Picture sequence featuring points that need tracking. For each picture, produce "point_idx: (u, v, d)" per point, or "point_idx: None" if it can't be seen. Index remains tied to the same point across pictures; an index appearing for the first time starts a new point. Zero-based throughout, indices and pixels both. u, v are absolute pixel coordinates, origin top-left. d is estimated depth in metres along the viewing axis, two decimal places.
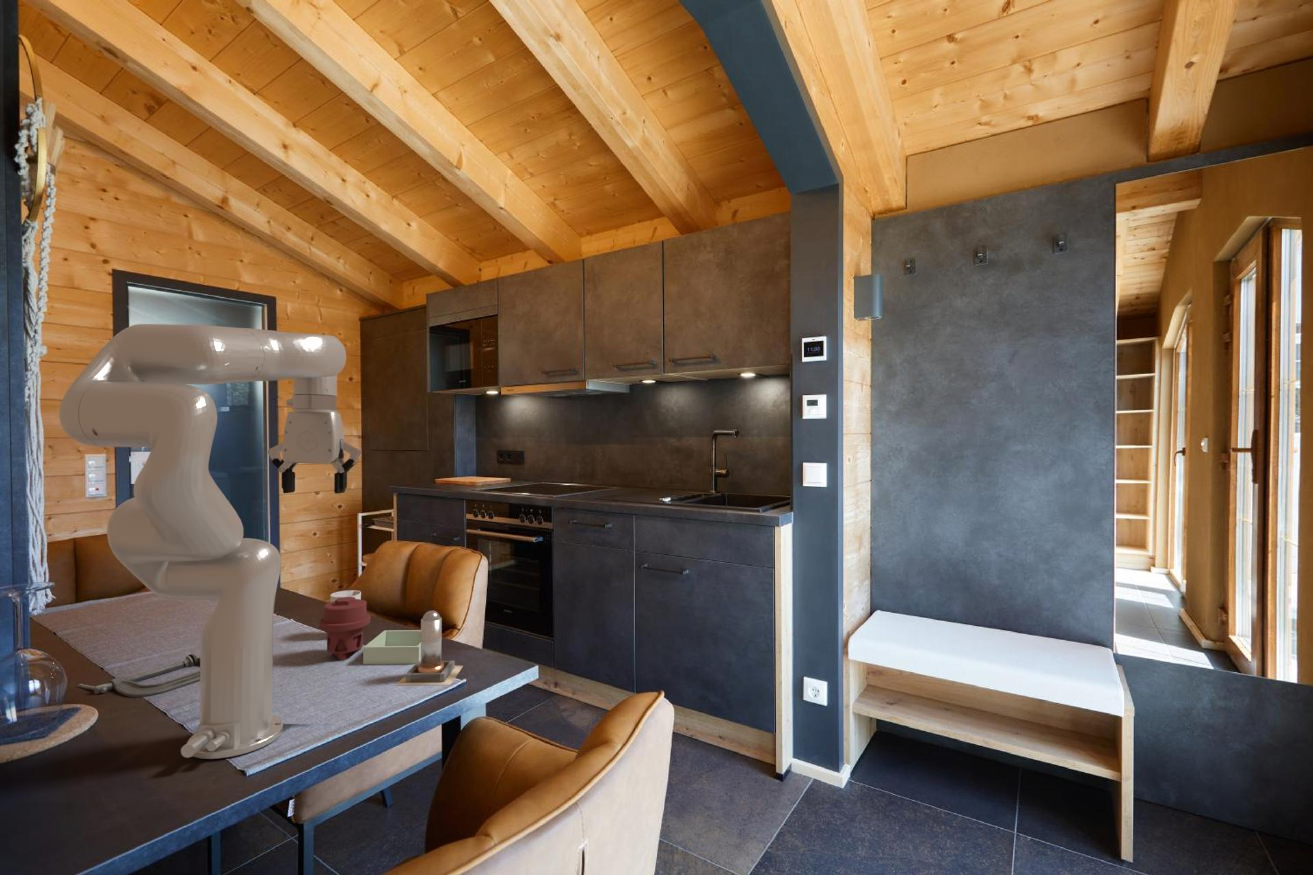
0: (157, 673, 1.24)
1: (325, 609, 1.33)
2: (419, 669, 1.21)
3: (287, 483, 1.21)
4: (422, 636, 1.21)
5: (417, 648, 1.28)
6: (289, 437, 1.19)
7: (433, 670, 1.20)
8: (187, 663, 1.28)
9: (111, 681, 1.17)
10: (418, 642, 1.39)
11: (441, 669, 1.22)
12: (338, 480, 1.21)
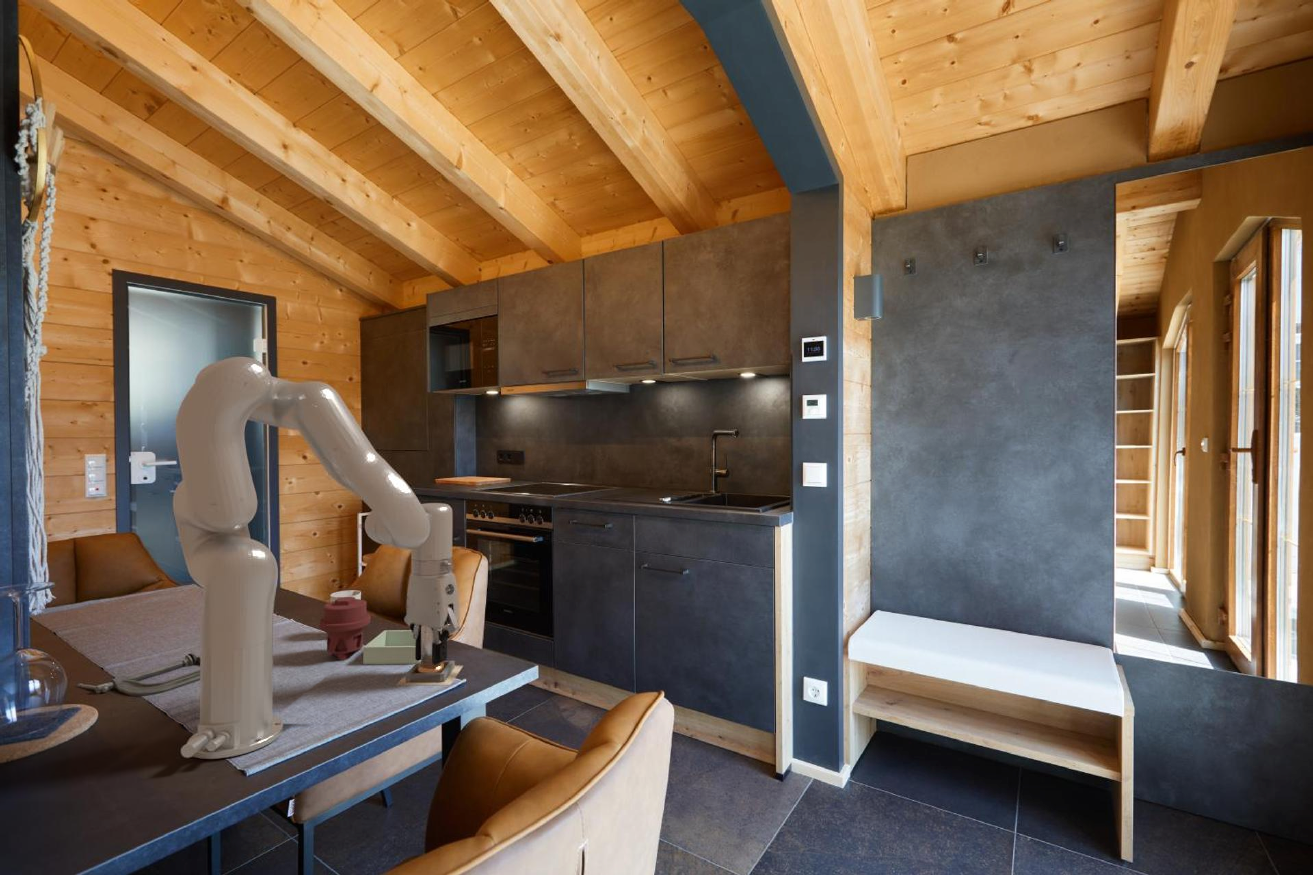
0: (157, 672, 1.24)
1: (325, 609, 1.33)
2: (419, 669, 1.21)
3: None
4: (422, 636, 1.21)
5: None
6: None
7: (433, 670, 1.20)
8: (187, 662, 1.29)
9: (112, 680, 1.17)
10: None
11: (441, 669, 1.22)
12: None
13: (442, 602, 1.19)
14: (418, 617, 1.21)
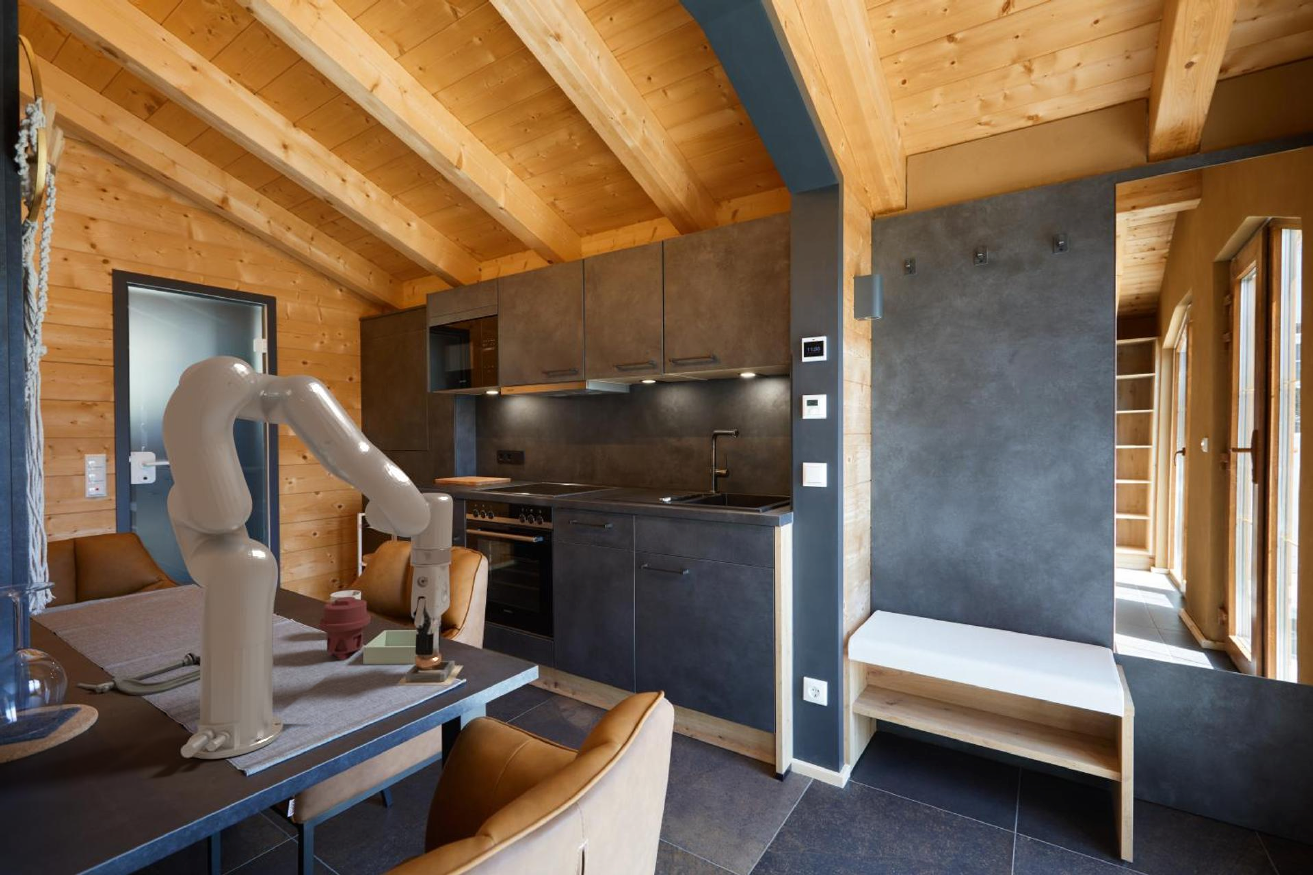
0: (157, 672, 1.24)
1: (325, 609, 1.33)
2: None
3: None
4: None
5: None
6: (438, 593, 1.19)
7: (418, 661, 1.20)
8: (186, 662, 1.29)
9: (112, 680, 1.18)
10: None
11: (427, 663, 1.20)
12: None
13: (412, 592, 1.17)
14: None
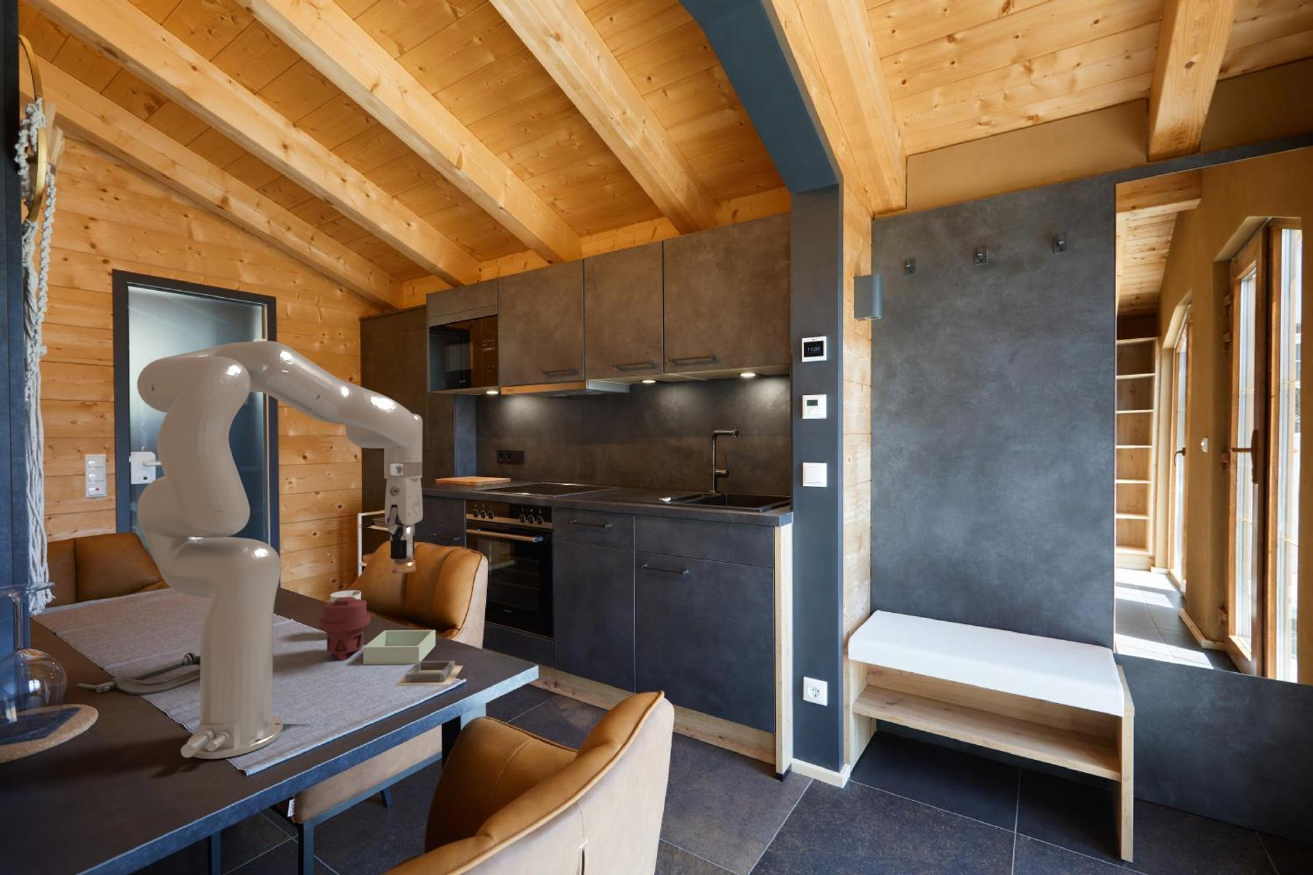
0: (157, 671, 1.24)
1: (325, 609, 1.33)
2: None
3: None
4: None
5: (417, 648, 1.28)
6: (410, 502, 1.30)
7: (393, 565, 1.31)
8: (186, 661, 1.29)
9: (113, 680, 1.18)
10: (418, 642, 1.39)
11: (401, 566, 1.31)
12: None
13: (386, 501, 1.29)
14: None
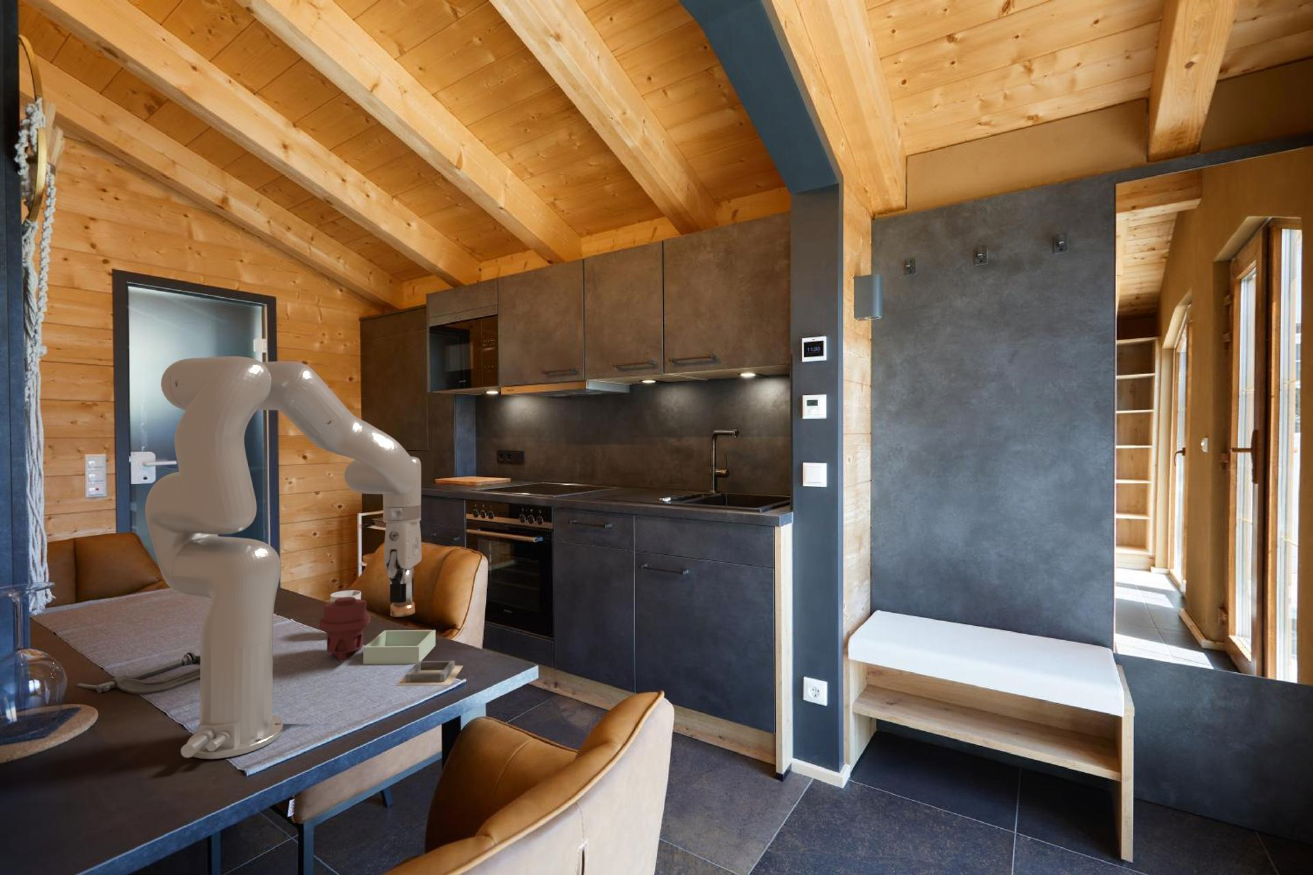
0: (157, 671, 1.24)
1: (325, 609, 1.33)
2: None
3: None
4: None
5: (417, 648, 1.28)
6: (409, 546, 1.31)
7: (393, 608, 1.32)
8: (186, 661, 1.30)
9: (113, 680, 1.18)
10: (418, 642, 1.39)
11: (401, 610, 1.32)
12: None
13: (385, 545, 1.29)
14: None
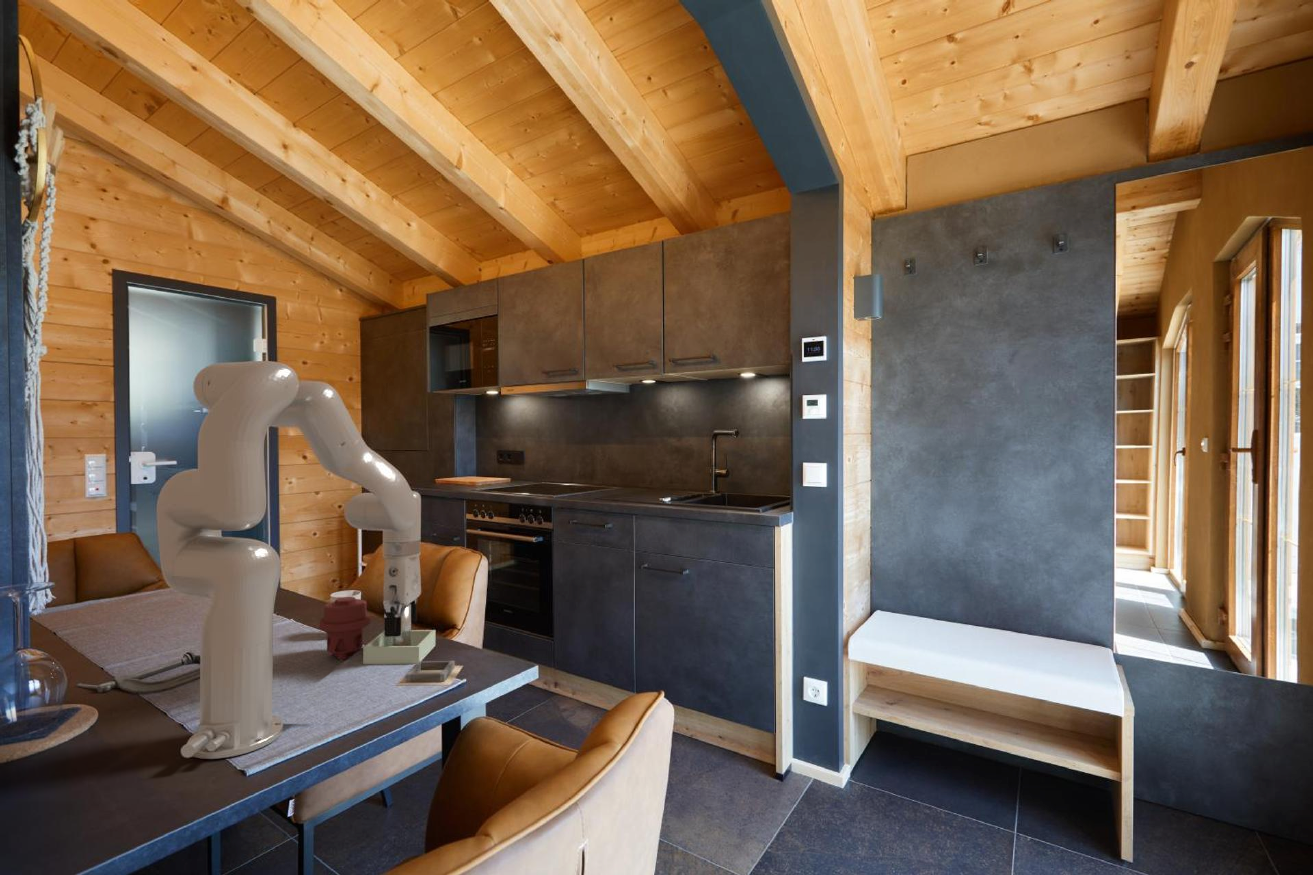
0: (157, 671, 1.25)
1: (325, 609, 1.33)
2: None
3: None
4: None
5: (417, 648, 1.28)
6: (408, 581, 1.30)
7: None
8: (185, 661, 1.30)
9: (114, 679, 1.18)
10: (418, 642, 1.39)
11: None
12: None
13: (384, 581, 1.29)
14: None
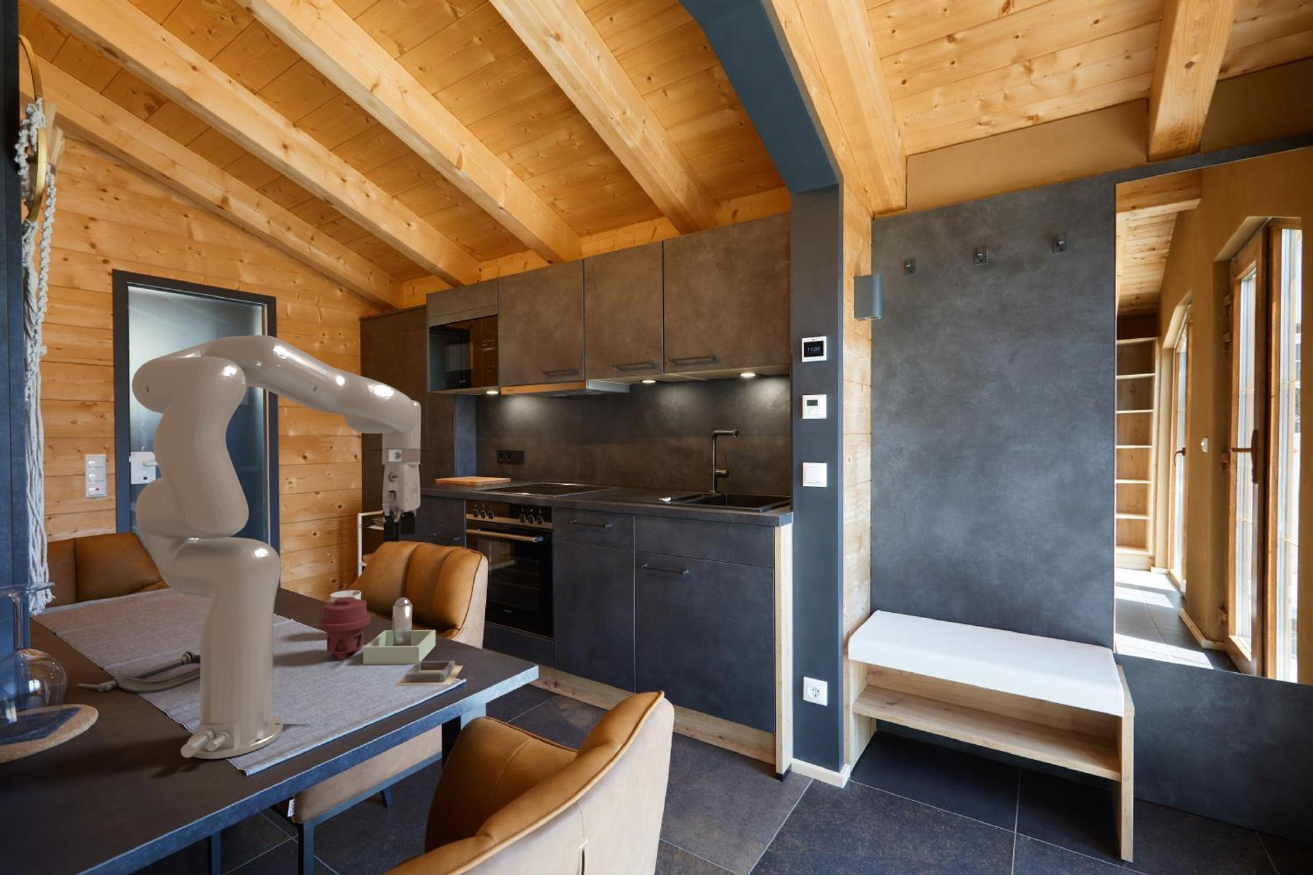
0: (157, 670, 1.25)
1: (325, 609, 1.33)
2: None
3: None
4: None
5: (417, 648, 1.28)
6: (408, 488, 1.30)
7: None
8: (185, 660, 1.30)
9: (114, 679, 1.18)
10: (418, 642, 1.39)
11: None
12: None
13: (384, 487, 1.28)
14: None
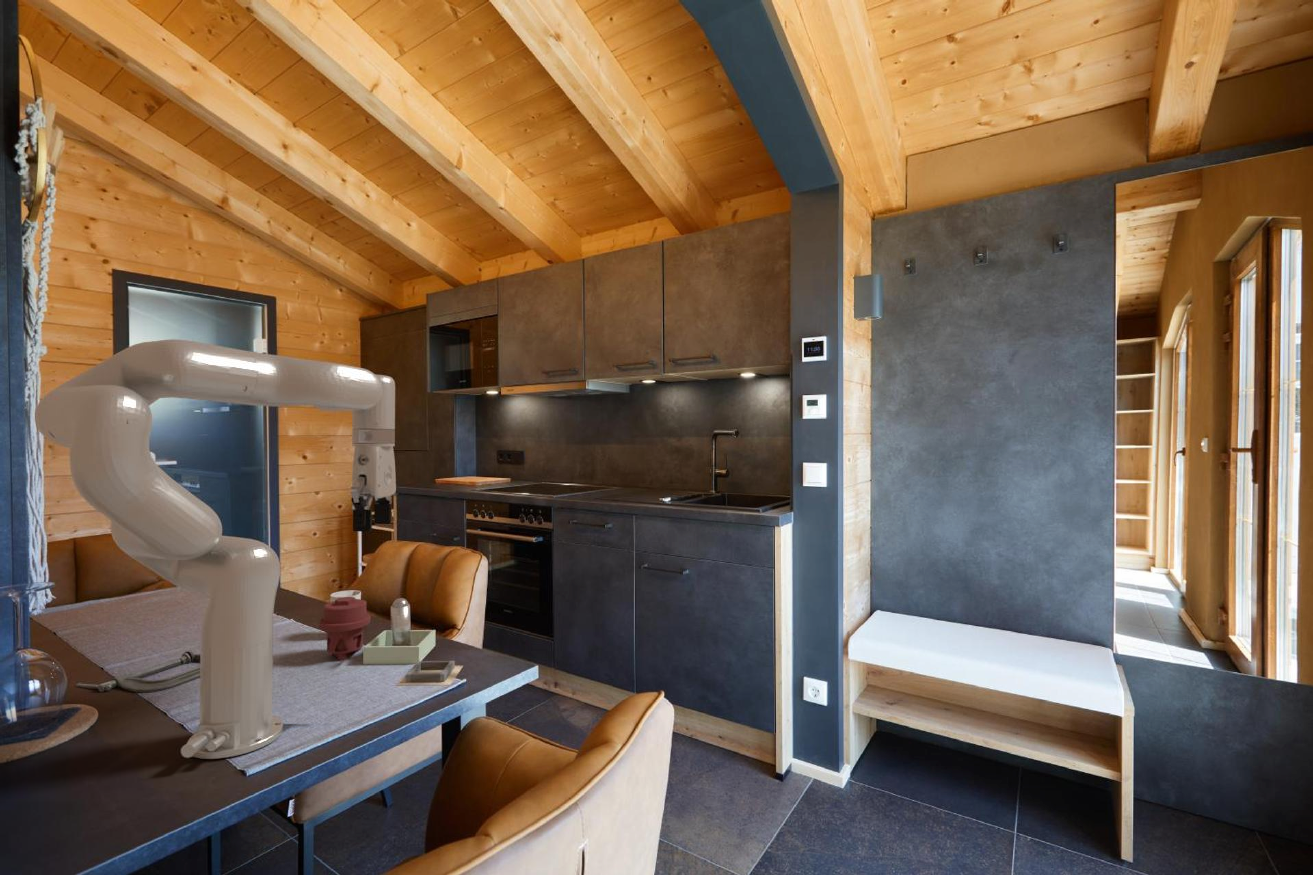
0: (157, 670, 1.25)
1: (325, 609, 1.33)
2: None
3: None
4: None
5: (417, 648, 1.28)
6: (380, 472, 1.17)
7: None
8: (184, 660, 1.30)
9: (114, 679, 1.18)
10: (418, 642, 1.39)
11: None
12: None
13: (353, 471, 1.16)
14: None
